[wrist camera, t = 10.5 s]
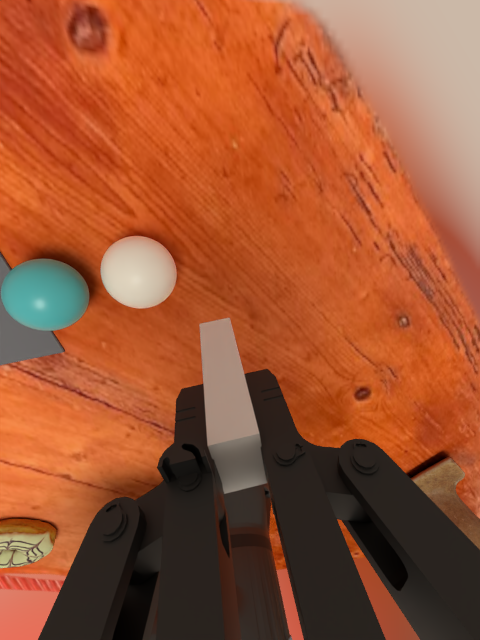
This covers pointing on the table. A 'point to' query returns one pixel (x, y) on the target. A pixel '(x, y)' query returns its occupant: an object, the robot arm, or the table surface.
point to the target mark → (22, 334)
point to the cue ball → (138, 272)
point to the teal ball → (45, 294)
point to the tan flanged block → (449, 496)
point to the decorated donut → (24, 541)
